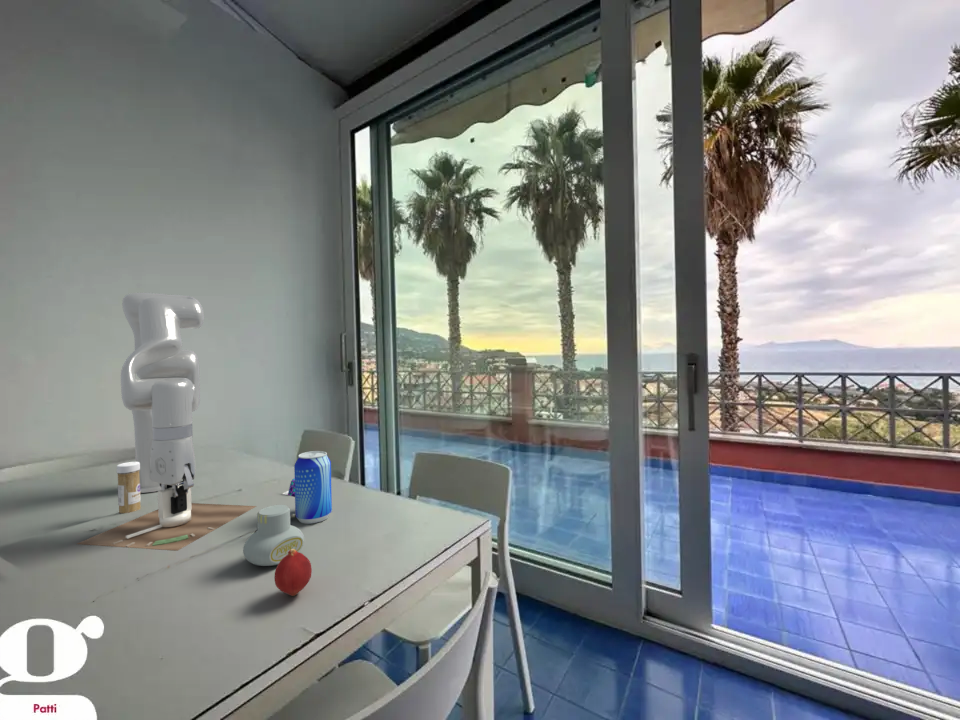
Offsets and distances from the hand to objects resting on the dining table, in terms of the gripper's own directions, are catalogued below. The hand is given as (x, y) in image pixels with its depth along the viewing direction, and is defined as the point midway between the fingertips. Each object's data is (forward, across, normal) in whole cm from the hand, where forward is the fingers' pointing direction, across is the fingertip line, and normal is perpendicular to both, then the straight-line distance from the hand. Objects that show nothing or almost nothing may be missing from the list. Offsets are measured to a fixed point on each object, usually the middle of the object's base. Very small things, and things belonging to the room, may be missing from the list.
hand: (175, 510), depth 98 cm
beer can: (+5, +25, +18) cm, 31 cm away
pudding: (+5, +9, +29) cm, 31 cm away
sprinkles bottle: (+5, -20, 0) cm, 20 cm away
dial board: (+4, 0, 0) cm, 4 cm away
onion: (+5, +47, -8) cm, 48 cm away
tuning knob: (+3, 0, -3) cm, 4 cm away
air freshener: (+5, +34, -1) cm, 34 cm away
